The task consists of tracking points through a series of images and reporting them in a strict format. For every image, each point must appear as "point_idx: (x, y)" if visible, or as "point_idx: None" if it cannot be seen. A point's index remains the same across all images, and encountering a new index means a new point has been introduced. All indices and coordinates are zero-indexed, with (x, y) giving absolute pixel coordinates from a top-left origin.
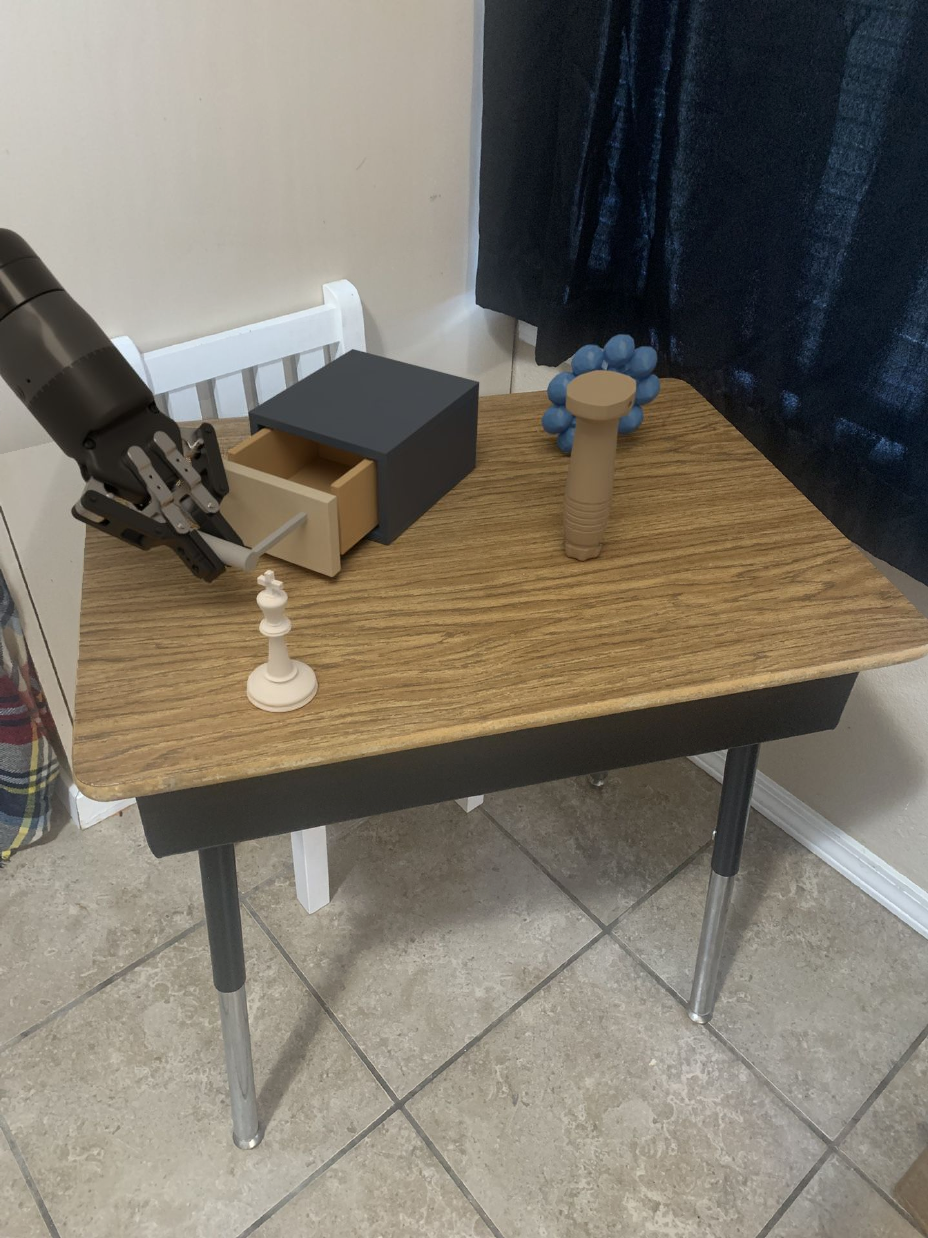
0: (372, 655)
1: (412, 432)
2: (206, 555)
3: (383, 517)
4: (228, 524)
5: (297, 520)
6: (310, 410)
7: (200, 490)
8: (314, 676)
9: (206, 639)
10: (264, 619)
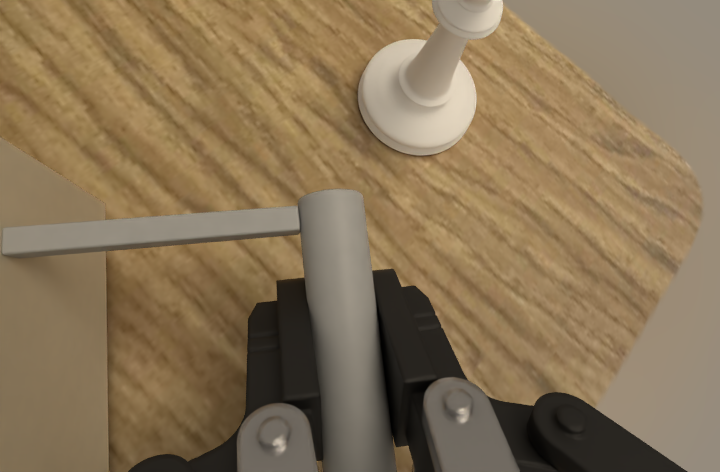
0: (256, 29)
1: None
2: (408, 308)
3: None
4: (252, 368)
5: (63, 223)
6: None
7: None
8: (379, 53)
9: None
10: (477, 25)
